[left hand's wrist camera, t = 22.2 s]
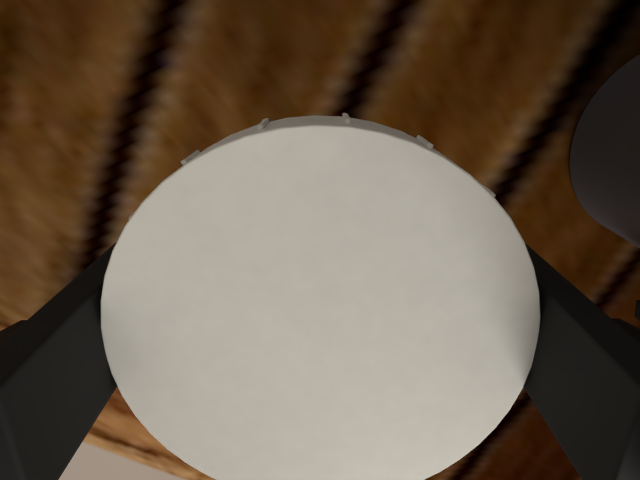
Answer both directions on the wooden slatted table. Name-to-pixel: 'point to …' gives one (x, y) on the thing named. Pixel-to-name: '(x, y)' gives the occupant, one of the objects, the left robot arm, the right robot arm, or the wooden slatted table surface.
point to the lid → (320, 306)
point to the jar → (611, 154)
